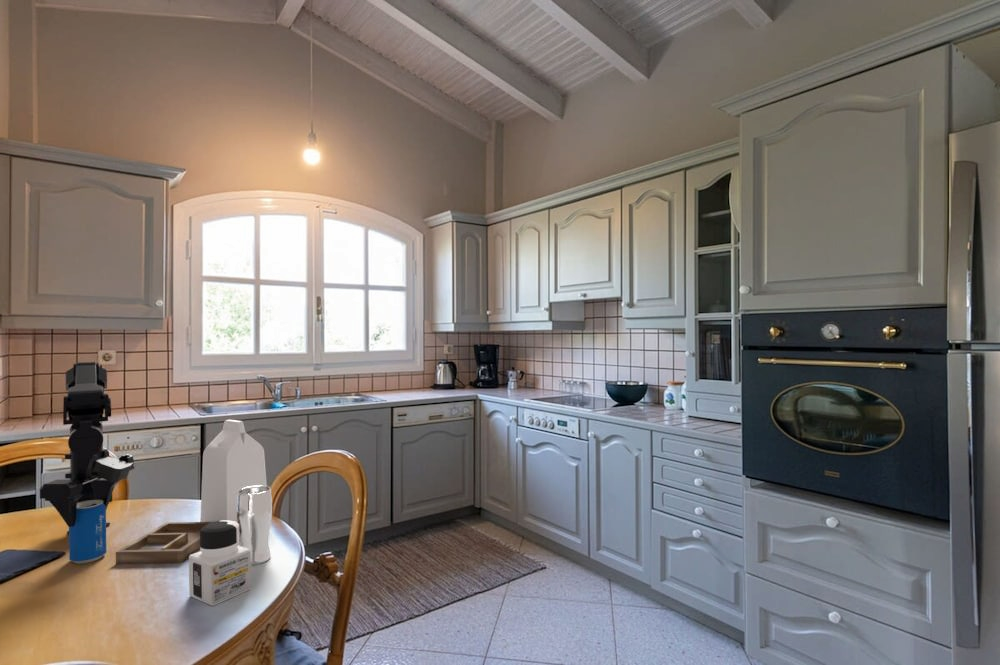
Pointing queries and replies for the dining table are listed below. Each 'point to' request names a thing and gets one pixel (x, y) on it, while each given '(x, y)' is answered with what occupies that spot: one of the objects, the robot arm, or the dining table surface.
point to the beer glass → (255, 521)
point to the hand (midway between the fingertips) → (87, 518)
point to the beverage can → (88, 532)
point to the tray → (164, 544)
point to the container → (219, 564)
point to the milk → (229, 471)
